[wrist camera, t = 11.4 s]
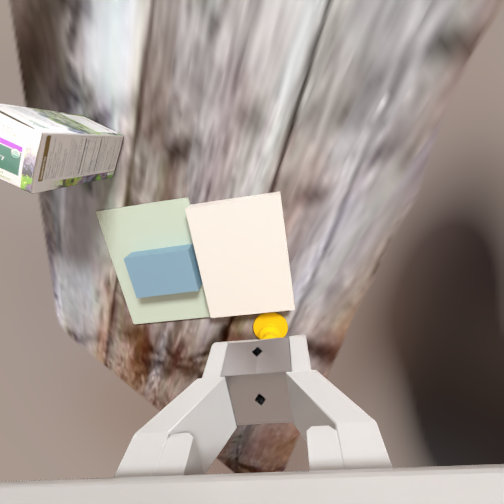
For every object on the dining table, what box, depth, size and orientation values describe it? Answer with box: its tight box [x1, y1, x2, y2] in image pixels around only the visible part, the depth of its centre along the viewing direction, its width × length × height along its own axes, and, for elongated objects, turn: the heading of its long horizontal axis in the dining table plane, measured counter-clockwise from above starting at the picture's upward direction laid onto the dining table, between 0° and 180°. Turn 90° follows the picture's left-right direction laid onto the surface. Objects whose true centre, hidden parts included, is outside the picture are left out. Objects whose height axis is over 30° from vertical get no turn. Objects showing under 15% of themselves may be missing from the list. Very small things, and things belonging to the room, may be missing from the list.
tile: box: [124, 244, 202, 298], centre depth 42 cm, size 6×9×2 cm, turn 100°
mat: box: [96, 197, 210, 324], centre depth 43 cm, size 18×13×1 cm
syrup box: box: [0, 103, 124, 194], centre depth 32 cm, size 6×6×14 cm
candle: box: [253, 312, 288, 340], centre depth 39 cm, size 5×5×16 cm
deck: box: [185, 192, 295, 318], centre depth 41 cm, size 16×12×2 cm
